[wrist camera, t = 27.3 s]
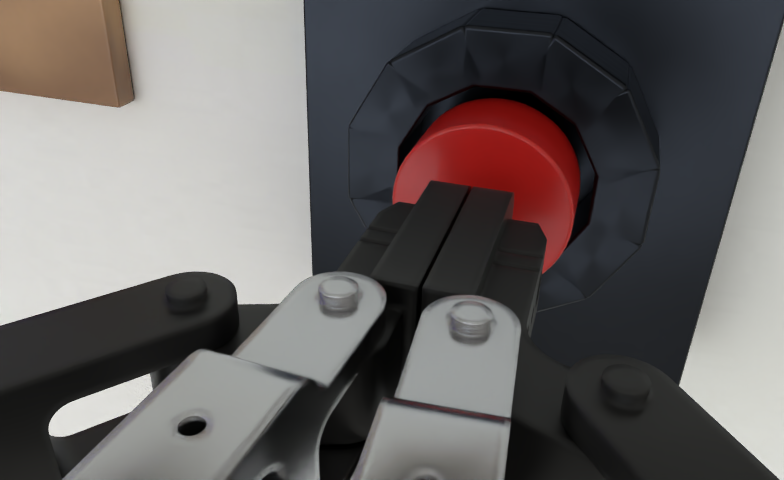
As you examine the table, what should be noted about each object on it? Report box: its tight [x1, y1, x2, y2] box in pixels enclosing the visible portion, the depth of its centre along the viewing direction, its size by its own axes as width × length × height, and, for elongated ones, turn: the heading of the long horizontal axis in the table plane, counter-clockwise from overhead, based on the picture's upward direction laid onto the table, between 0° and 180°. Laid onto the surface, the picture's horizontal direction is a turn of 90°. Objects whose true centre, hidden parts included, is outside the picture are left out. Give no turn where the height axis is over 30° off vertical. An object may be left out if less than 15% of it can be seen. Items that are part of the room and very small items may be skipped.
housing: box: [304, 0, 784, 386], centre depth 17 cm, size 12×10×4 cm
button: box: [392, 98, 581, 274], centre depth 15 cm, size 4×4×2 cm
